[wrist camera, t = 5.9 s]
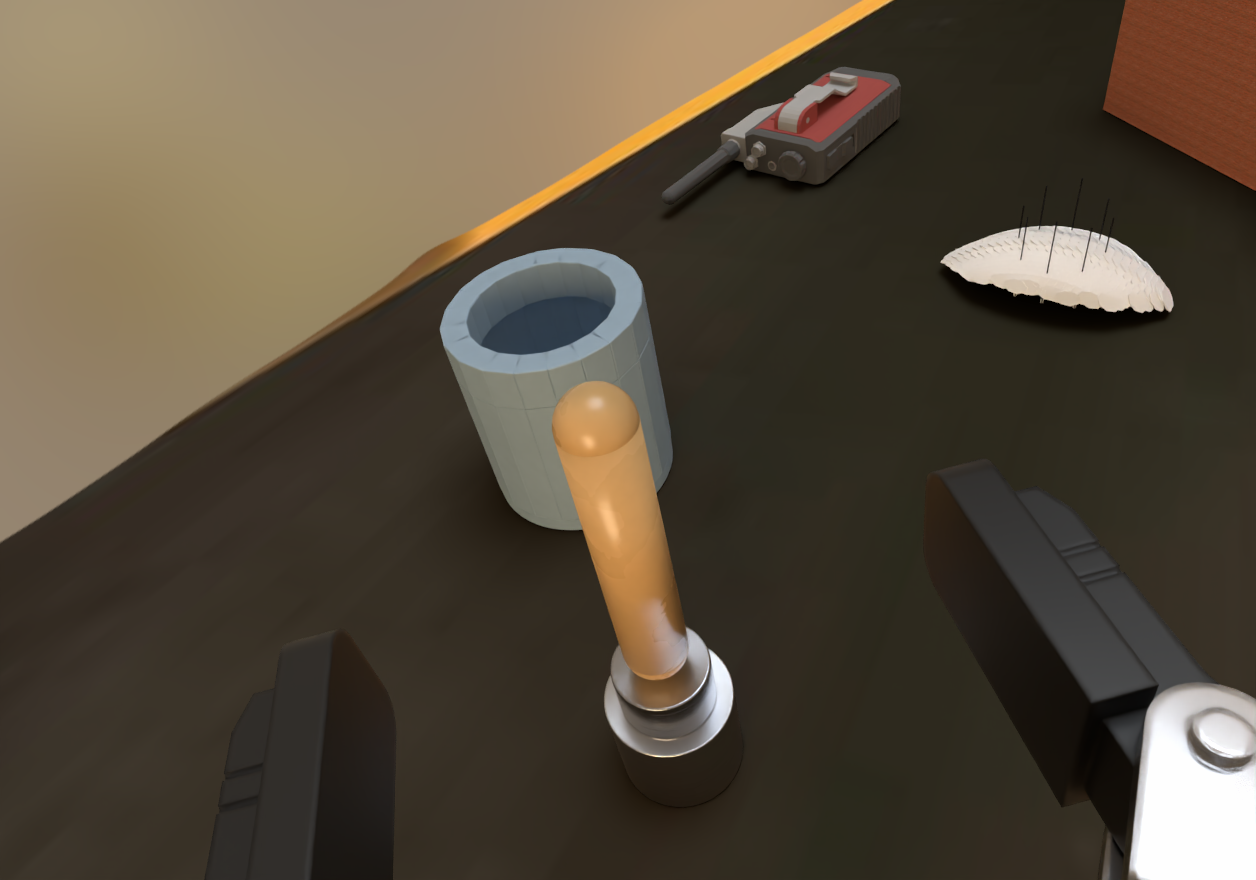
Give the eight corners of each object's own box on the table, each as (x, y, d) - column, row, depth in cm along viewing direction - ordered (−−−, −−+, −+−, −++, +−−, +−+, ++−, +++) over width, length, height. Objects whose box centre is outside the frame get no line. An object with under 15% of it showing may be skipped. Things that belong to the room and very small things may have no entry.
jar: (599, 558, 41) (550, 398, 34) (466, 489, 46) (399, 336, 39) (707, 436, 45) (683, 274, 39) (575, 385, 50) (532, 232, 43)
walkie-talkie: (813, 93, 71) (655, 214, 62) (811, 37, 68) (645, 155, 59) (914, 111, 66) (758, 245, 57) (917, 51, 63) (753, 183, 54)
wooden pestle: (698, 832, 31) (602, 489, 19) (599, 764, 34) (455, 420, 21) (766, 730, 34) (720, 362, 21) (668, 673, 36) (575, 314, 24)
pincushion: (922, 296, 51) (928, 208, 47) (961, 240, 54) (970, 154, 50) (1155, 348, 45) (1185, 252, 41) (1183, 281, 48) (1214, 186, 44)
